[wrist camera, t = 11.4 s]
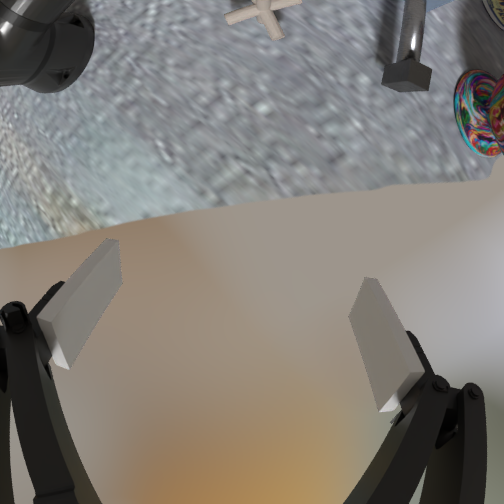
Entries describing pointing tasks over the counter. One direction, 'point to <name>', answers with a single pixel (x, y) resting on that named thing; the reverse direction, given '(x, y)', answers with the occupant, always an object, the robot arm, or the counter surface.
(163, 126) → the counter surface
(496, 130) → the vase
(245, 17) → the pipe connector
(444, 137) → the counter surface
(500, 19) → the supplement tub
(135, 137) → the counter surface
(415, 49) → the shaft
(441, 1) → the pillow block
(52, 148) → the counter surface
